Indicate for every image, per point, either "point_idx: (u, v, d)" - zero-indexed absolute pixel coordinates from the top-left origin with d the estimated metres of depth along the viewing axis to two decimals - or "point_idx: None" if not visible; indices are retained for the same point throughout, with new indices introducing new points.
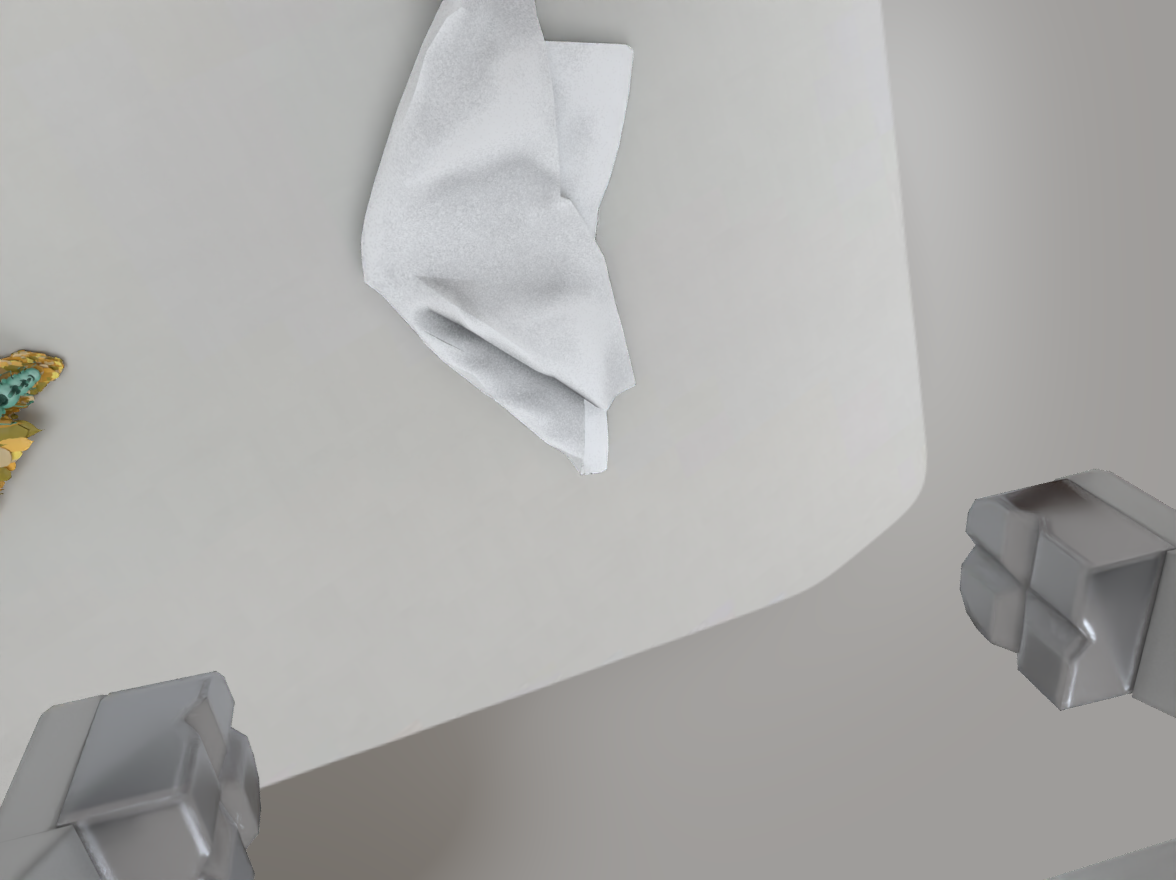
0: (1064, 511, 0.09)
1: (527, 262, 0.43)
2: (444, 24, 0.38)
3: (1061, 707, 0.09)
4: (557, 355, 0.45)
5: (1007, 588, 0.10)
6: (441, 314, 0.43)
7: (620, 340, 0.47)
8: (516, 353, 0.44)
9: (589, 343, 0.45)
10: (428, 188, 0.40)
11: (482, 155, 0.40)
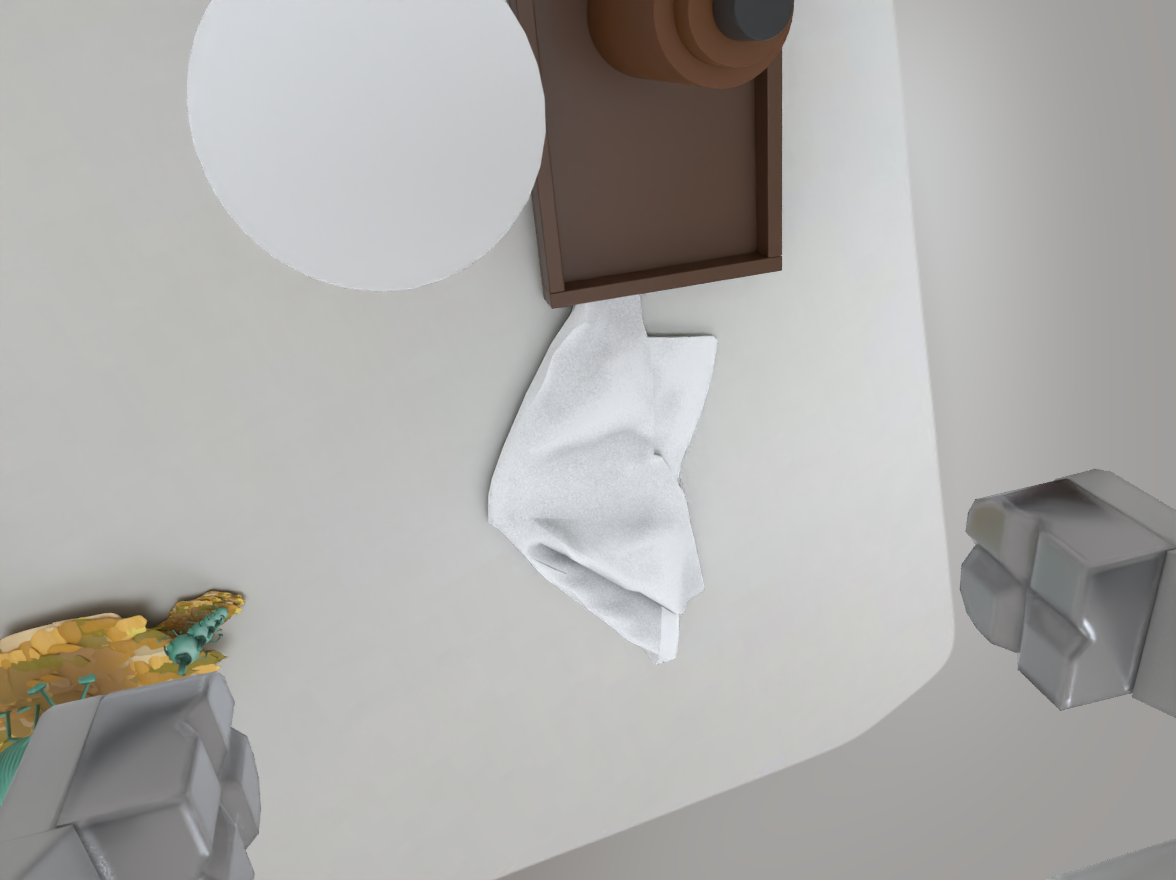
0: (1064, 511, 0.09)
1: (622, 503, 0.52)
2: (570, 334, 0.46)
3: (1061, 706, 0.09)
4: (644, 577, 0.53)
5: (1007, 588, 0.10)
6: (550, 548, 0.51)
7: (693, 556, 0.55)
8: (610, 577, 0.52)
9: (671, 566, 0.53)
10: (548, 454, 0.49)
11: (594, 431, 0.48)
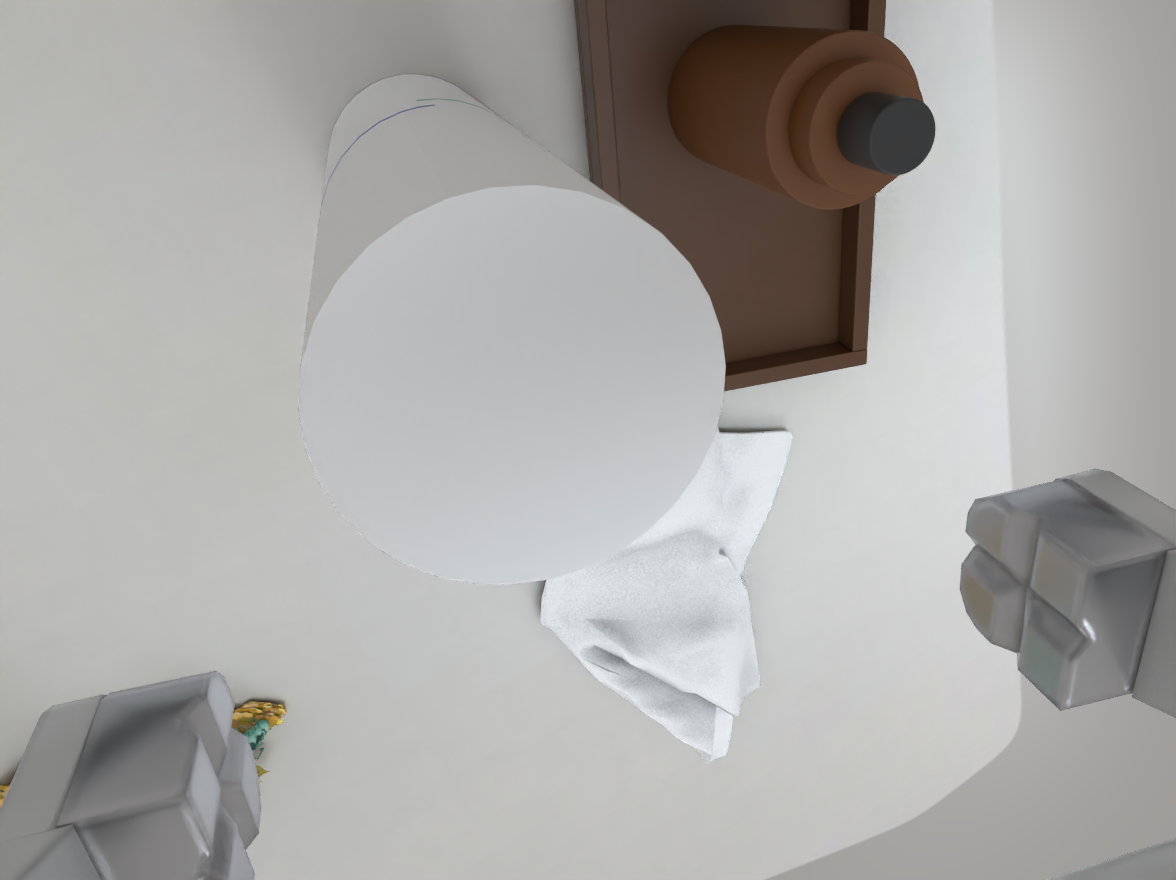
0: (1064, 511, 0.09)
1: (682, 603, 0.48)
2: None
3: (1061, 706, 0.09)
4: (702, 680, 0.50)
5: (1007, 588, 0.10)
6: (605, 650, 0.48)
7: (752, 653, 0.52)
8: (667, 680, 0.49)
9: (730, 668, 0.50)
10: None
11: (660, 534, 0.45)
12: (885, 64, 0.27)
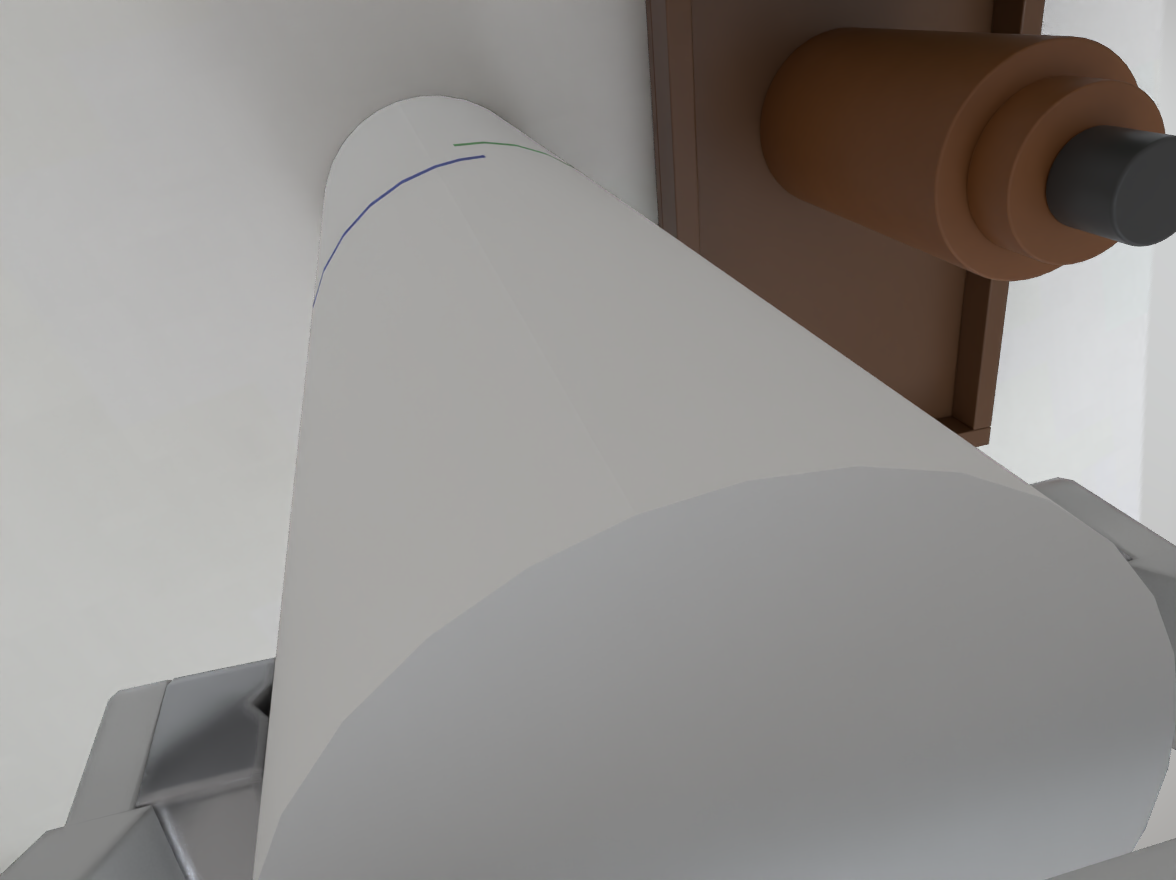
0: None
1: None
2: None
3: None
4: None
5: None
6: None
7: None
8: None
9: None
10: None
11: None
12: (1122, 86, 0.19)
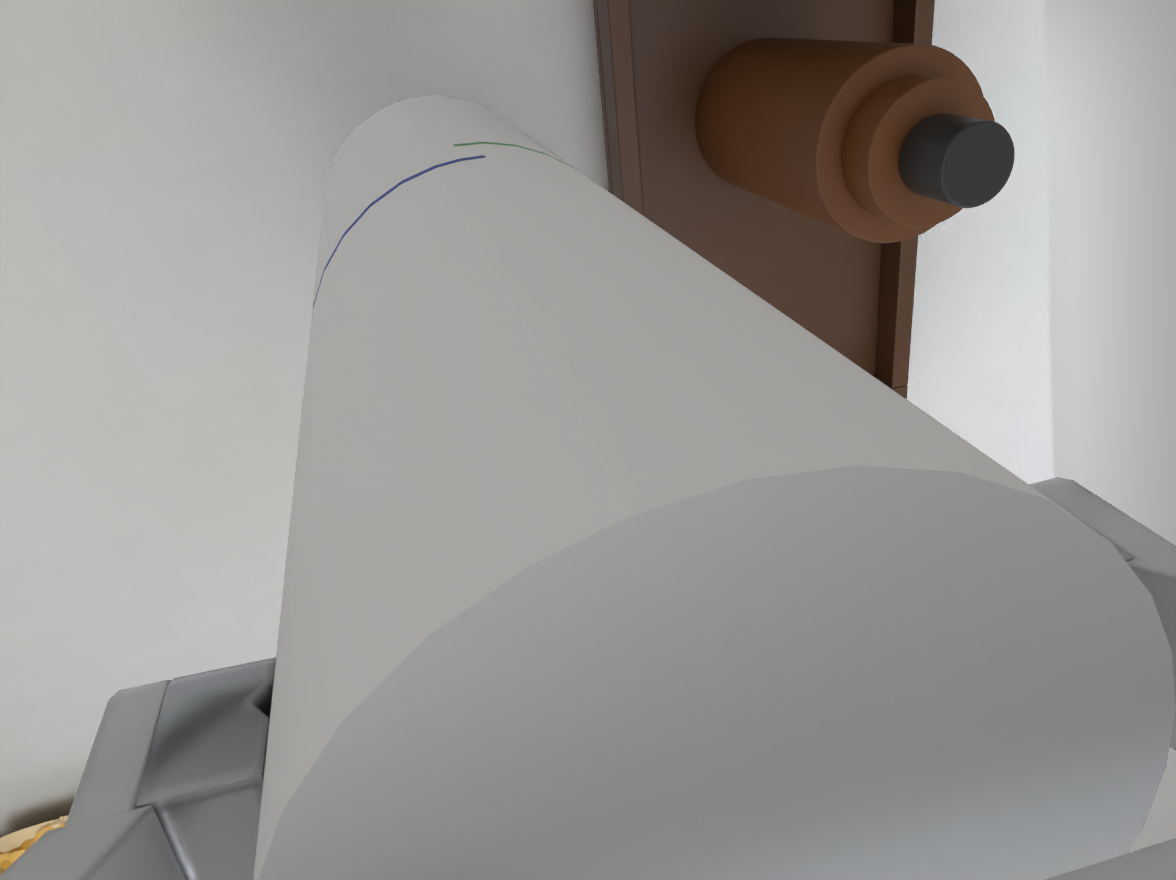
0: None
1: None
2: None
3: None
4: None
5: None
6: None
7: None
8: None
9: None
10: None
11: None
12: (954, 83, 0.24)
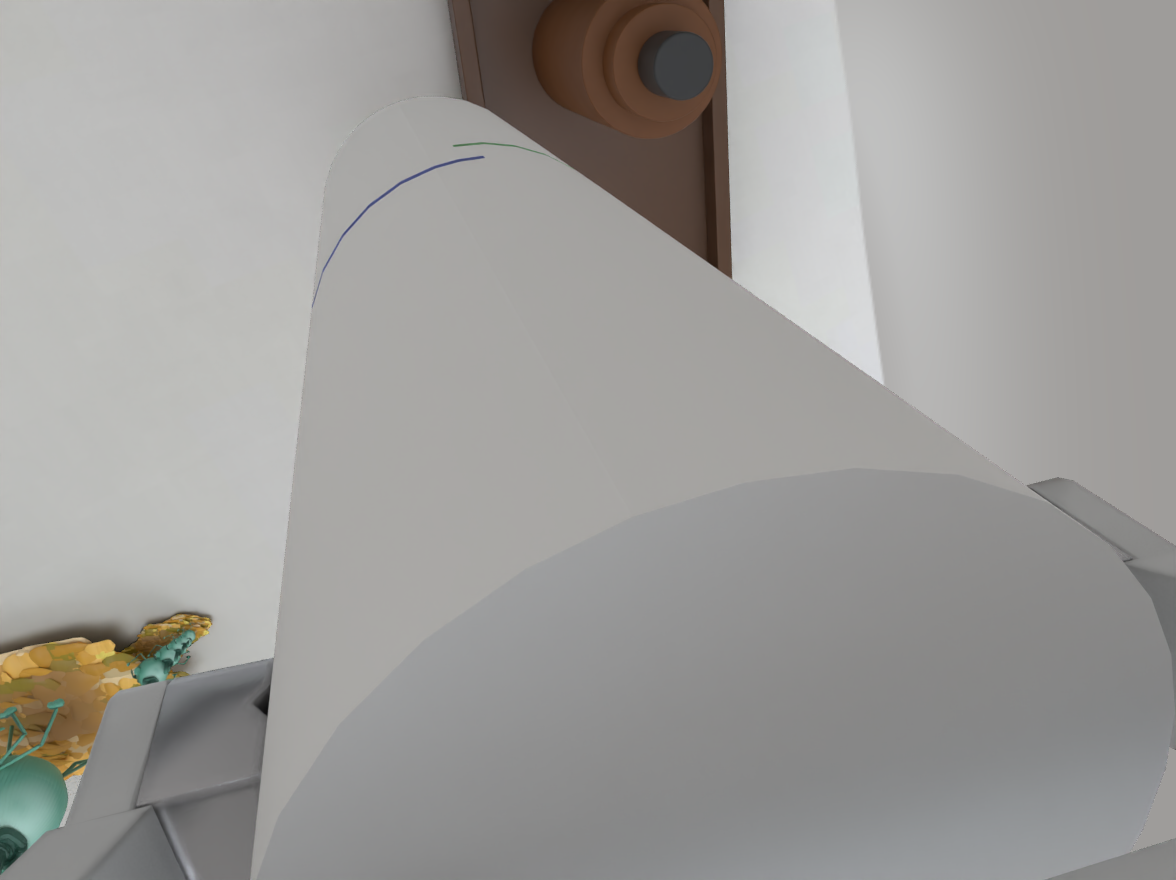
0: None
1: None
2: None
3: None
4: None
5: None
6: None
7: None
8: None
9: None
10: None
11: None
12: (675, 6, 0.32)
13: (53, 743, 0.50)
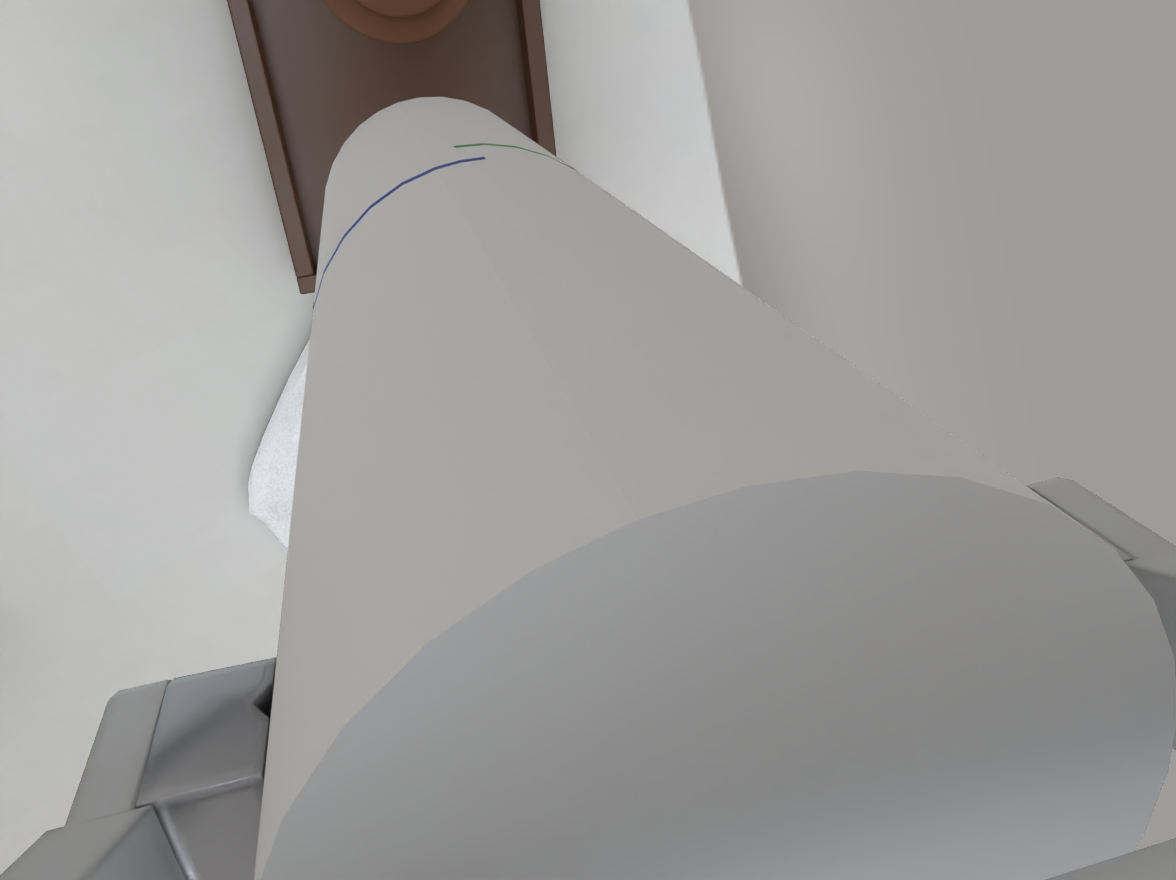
0: None
1: None
2: None
3: None
4: None
5: None
6: None
7: None
8: None
9: None
10: None
11: None
12: None
13: None
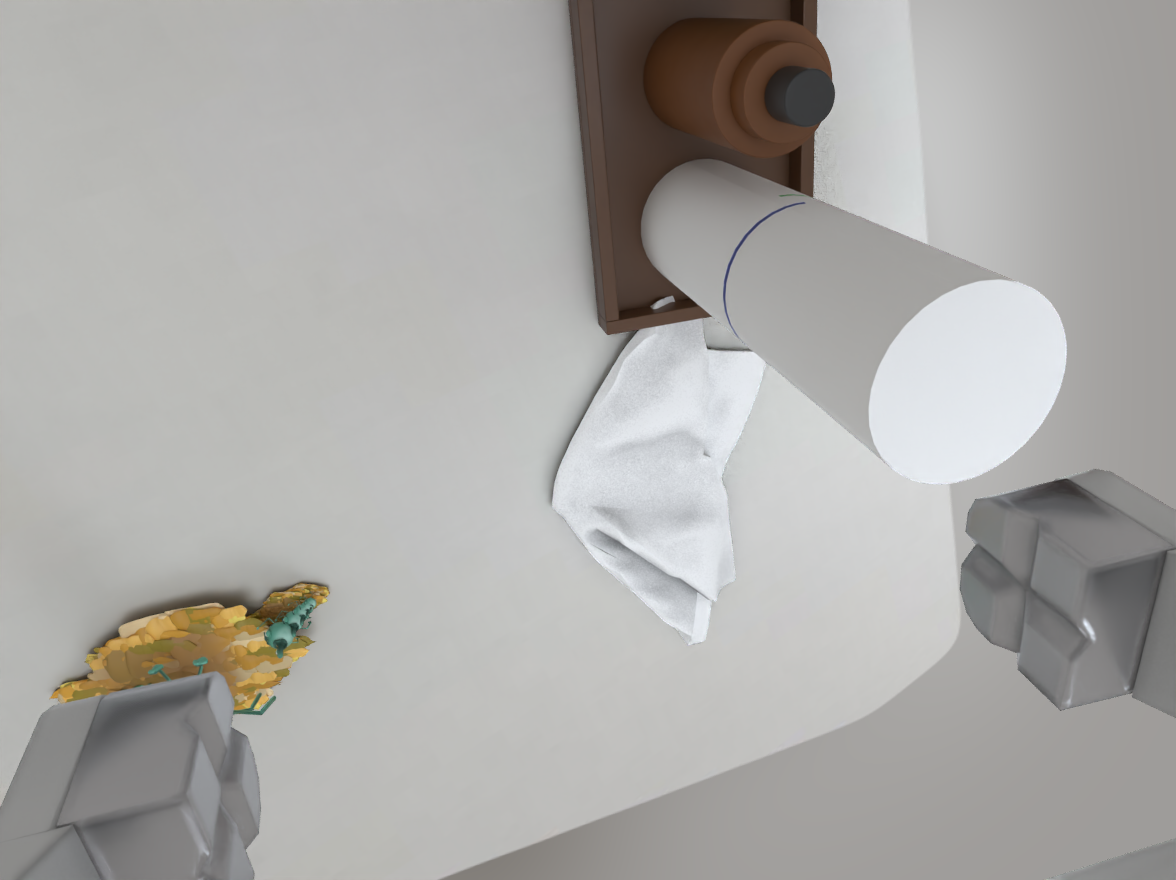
0: (1064, 511, 0.09)
1: (671, 497, 0.57)
2: (641, 343, 0.52)
3: (1061, 706, 0.09)
4: (686, 565, 0.59)
5: (1007, 588, 0.10)
6: (605, 533, 0.57)
7: (729, 549, 0.61)
8: (656, 563, 0.58)
9: (710, 556, 0.59)
10: (611, 449, 0.54)
11: (655, 431, 0.54)
12: (799, 45, 0.36)
13: None
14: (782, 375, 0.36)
